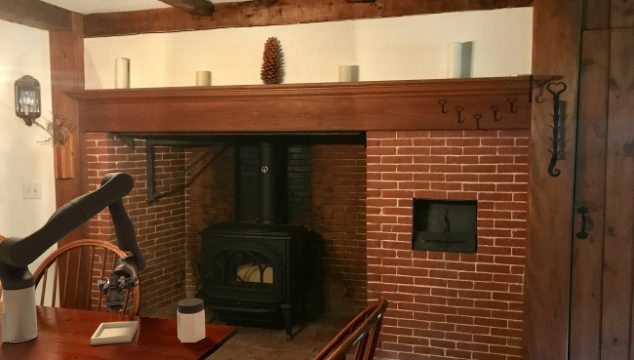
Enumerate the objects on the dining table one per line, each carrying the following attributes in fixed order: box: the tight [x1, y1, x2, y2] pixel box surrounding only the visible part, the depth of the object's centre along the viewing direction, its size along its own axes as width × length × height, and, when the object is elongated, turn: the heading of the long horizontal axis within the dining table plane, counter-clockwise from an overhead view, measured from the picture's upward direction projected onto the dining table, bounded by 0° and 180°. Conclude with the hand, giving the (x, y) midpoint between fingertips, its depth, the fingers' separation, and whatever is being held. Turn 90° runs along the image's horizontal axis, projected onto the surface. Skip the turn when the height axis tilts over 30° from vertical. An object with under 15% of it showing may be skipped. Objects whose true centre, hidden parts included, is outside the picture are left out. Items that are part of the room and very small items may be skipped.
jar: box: [176, 298, 206, 344], centre depth 170 cm, size 9×8×12 cm
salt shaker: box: [104, 271, 125, 311], centre depth 172 cm, size 6×6×12 cm
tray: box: [90, 320, 139, 346], centre depth 173 cm, size 12×14×2 cm
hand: (112, 291), depth 169 cm, fingers closed on salt shaker, 3 cm apart
